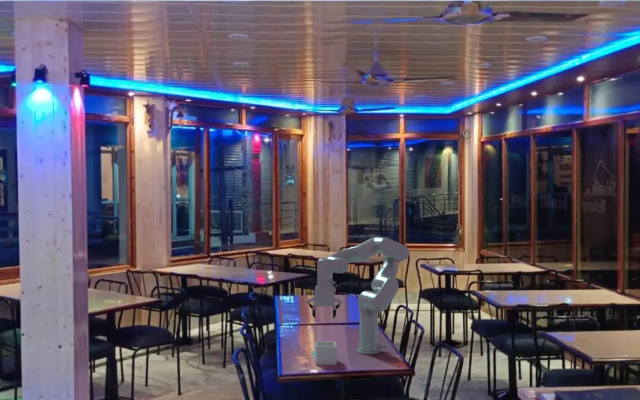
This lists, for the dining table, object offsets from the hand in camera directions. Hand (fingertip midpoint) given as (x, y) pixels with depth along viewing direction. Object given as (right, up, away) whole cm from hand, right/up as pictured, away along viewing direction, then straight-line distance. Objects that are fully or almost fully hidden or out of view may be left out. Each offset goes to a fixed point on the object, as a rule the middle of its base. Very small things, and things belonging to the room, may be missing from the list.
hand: (324, 317), depth 304 cm
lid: (0, -21, +8) cm, 23 cm away
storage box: (+1, -21, -6) cm, 22 cm away
